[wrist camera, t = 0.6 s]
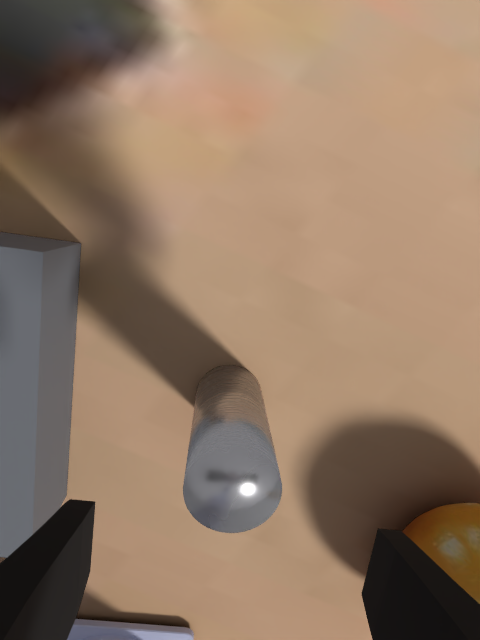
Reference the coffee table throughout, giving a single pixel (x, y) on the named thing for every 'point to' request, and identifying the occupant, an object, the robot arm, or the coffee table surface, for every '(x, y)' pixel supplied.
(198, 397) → the pin
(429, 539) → the fruit
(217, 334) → the coffee table surface
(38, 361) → the hole board
